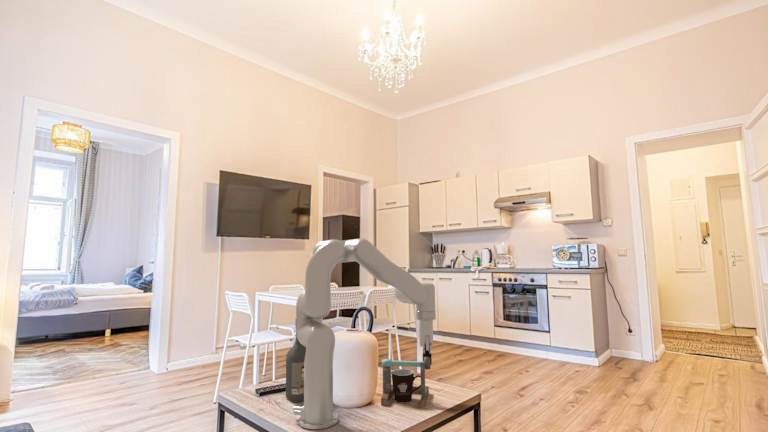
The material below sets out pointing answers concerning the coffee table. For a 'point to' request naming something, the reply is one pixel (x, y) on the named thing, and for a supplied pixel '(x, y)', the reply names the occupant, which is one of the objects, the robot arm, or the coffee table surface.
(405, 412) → the coffee table surface
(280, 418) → the coffee table surface
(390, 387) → the dock
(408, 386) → the coffee mug
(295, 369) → the liquor
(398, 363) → the clip
